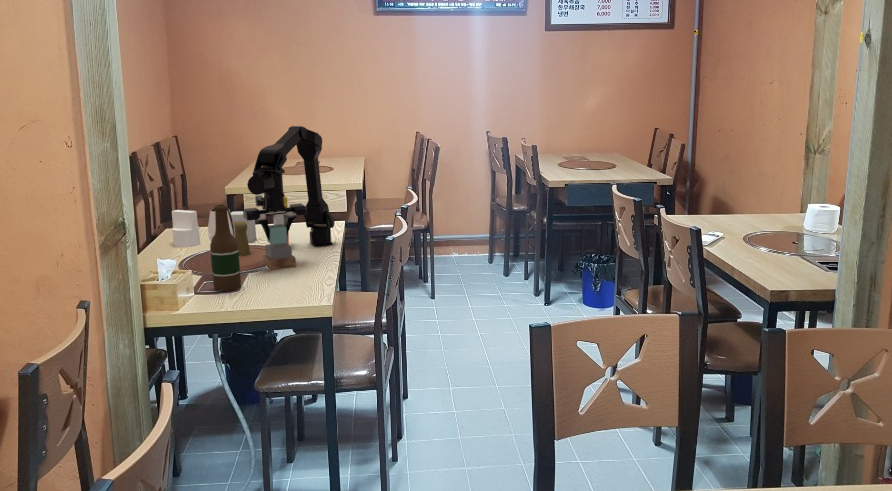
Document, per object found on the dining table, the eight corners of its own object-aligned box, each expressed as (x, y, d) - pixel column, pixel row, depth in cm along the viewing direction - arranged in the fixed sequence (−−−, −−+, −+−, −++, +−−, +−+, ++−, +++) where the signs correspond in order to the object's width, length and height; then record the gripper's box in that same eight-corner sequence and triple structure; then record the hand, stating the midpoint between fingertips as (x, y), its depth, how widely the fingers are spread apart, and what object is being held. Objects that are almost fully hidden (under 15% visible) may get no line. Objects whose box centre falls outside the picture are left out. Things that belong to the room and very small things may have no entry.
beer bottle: (216, 284, 223) (209, 203, 217) (243, 283, 223) (237, 202, 218) (210, 292, 215) (203, 208, 210) (238, 291, 216) (232, 207, 210)
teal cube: (283, 239, 244) (282, 224, 243) (287, 242, 239) (286, 226, 238) (267, 241, 242) (266, 225, 240) (271, 244, 237) (270, 228, 236)
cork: (245, 256, 255) (243, 223, 252) (228, 255, 256) (226, 223, 254) (253, 252, 261) (251, 220, 258) (237, 251, 262) (234, 219, 259)
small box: (256, 239, 280) (254, 210, 278) (253, 242, 275) (251, 213, 272) (234, 239, 280) (232, 211, 277) (230, 243, 274) (228, 214, 272)
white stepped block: (168, 246, 271) (164, 212, 268) (185, 240, 279) (182, 208, 276) (188, 248, 268) (185, 214, 265) (205, 242, 276) (202, 209, 273)
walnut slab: (288, 262, 248) (288, 252, 247) (296, 268, 241) (295, 257, 240) (264, 265, 244) (263, 255, 243) (271, 271, 237) (270, 260, 237)
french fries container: (275, 251, 261) (273, 198, 257) (273, 244, 271) (271, 193, 267) (289, 250, 262) (287, 198, 258) (286, 243, 272) (284, 193, 268)
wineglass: (214, 279, 228) (209, 213, 224) (209, 273, 235) (203, 209, 230) (241, 275, 232) (236, 210, 227) (235, 269, 238) (230, 206, 234)
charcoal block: (285, 253, 246) (285, 242, 245) (292, 257, 240) (291, 246, 239) (265, 255, 243) (265, 244, 242) (271, 260, 237) (270, 249, 236)
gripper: (296, 183, 248) (298, 230, 251) (237, 188, 240) (241, 237, 243) (306, 188, 238) (308, 237, 242) (245, 193, 230) (249, 244, 234)
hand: (277, 238), depth 240 cm, fingers closed on teal cube, 5 cm apart
